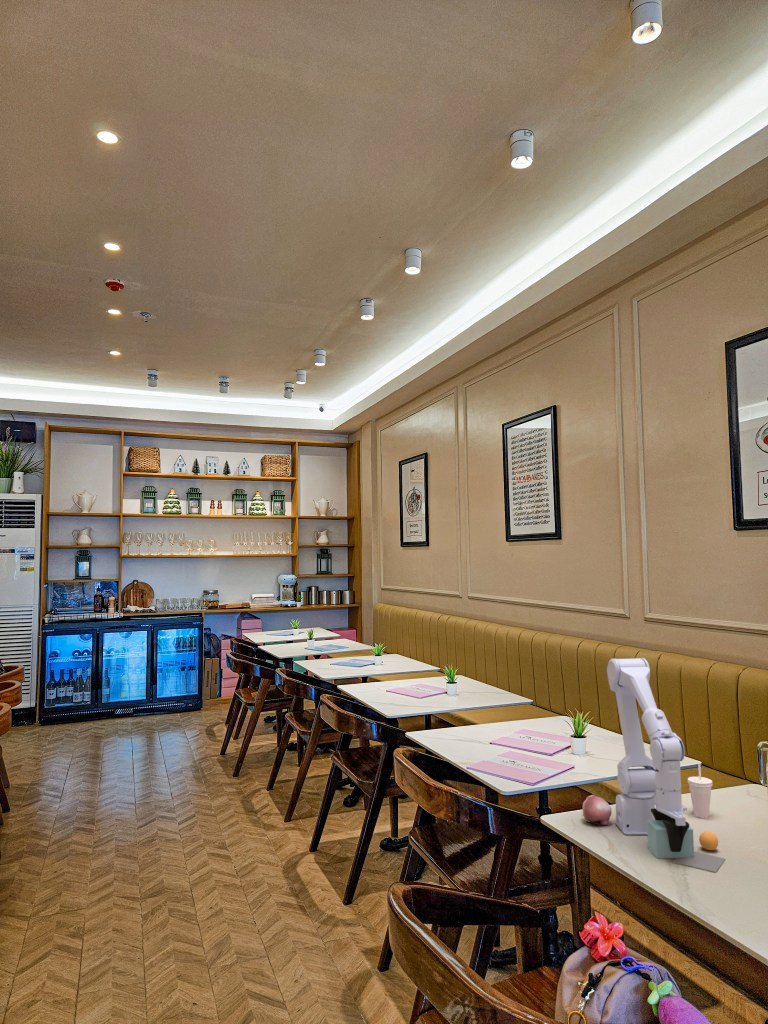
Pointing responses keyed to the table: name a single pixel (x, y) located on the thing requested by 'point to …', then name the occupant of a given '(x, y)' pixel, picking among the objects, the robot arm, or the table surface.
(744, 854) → the table surface
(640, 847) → the table surface
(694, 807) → the smoothie
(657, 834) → the light blue upright block
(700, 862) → the tape square
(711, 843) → the ball
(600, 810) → the onion
